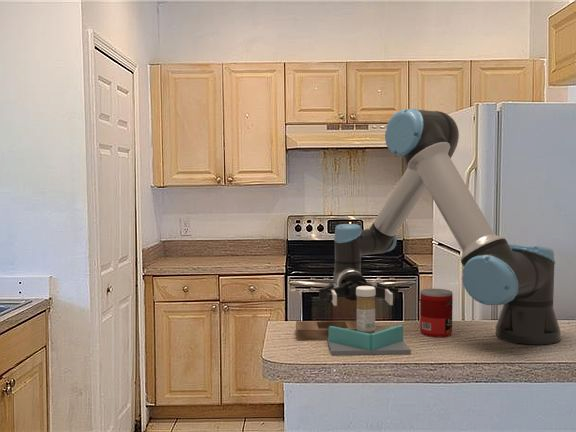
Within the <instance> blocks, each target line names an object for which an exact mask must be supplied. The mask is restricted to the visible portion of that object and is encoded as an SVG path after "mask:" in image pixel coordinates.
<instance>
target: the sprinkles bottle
mask: <svg viewBox="0 0 576 432" xmlns="http://www.w3.org/2000/svg"><path fill="white" fill-rule="evenodd" d="M372 286H373V285H372ZM372 286H359V287H357V288H356V295H357V296H356V297H357V300H356V320H357V331H359V332H364V333H369V334H371V333H375V332H376V299H375V298H376V297H375V295H376V290H375V287H372Z"/></svg>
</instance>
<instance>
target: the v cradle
mask: <svg viewBox="0 0 576 432" xmlns="http://www.w3.org/2000/svg"><path fill="white" fill-rule="evenodd" d="M326 341H327V344H328V348H329V351H330V354H331V356H380V355H381V356H384V355H385V356H386V355H388V356H390V355H411V354H412V350H411V348H410V347H409V346H408V344H407V343H406V342H405V340H404V325H400V324H398V325H394V326H391V327H388V328H385V329H381V330H378V331H375V333H371V334H369V333H364V332H359V331H354V330H349V329H344V328H340V327H335V326H329V338H327V340H326Z"/></svg>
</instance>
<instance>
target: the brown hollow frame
mask: <svg viewBox="0 0 576 432" xmlns="http://www.w3.org/2000/svg"><path fill="white" fill-rule="evenodd" d="M329 326H335V327H340V328H344V329H349V330H354V331H357V319H356V320H355V319H354V320H299V321H297V320H296V321H295V333H296V340H297V341H327V338H329Z"/></svg>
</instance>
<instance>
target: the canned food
mask: <svg viewBox="0 0 576 432" xmlns="http://www.w3.org/2000/svg"><path fill="white" fill-rule="evenodd" d="M453 295H454V294H453V291H451V290H449V289H446V288H445V289H443V288H424V289H421V290H420V299H419V301H420V305H419V306H420V309H419V312H420V314H419V315H420V316H419V317H420V318H419V319H420V320H419V321H420V325H419V326H420V327H419V330H420V333H421V334H422V335H423V336H426V337H429V338H430V337H431V338H447V337H450V336H451V335H452V333H453V308H454V307H453V305H454V304H453V300H454V297H453Z"/></svg>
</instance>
